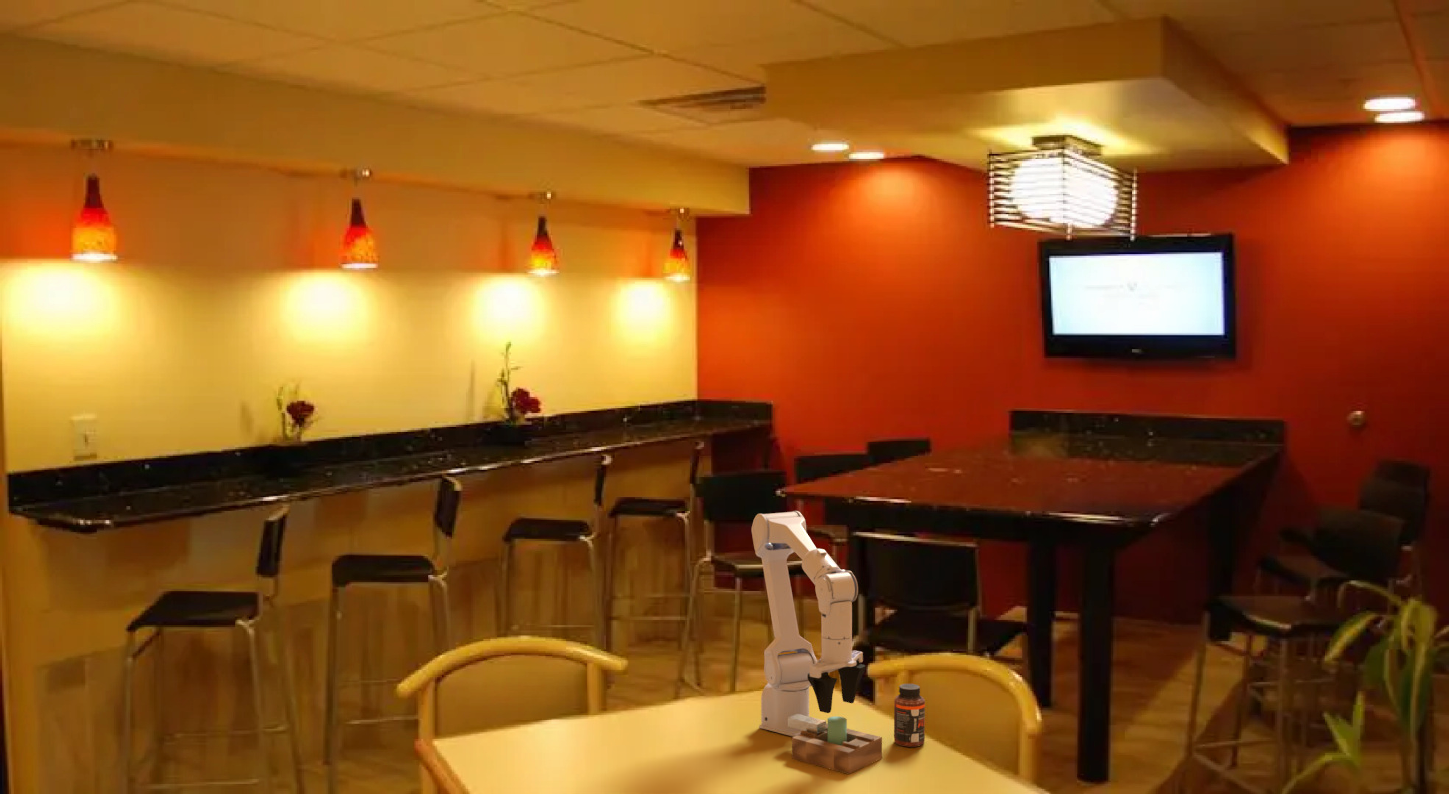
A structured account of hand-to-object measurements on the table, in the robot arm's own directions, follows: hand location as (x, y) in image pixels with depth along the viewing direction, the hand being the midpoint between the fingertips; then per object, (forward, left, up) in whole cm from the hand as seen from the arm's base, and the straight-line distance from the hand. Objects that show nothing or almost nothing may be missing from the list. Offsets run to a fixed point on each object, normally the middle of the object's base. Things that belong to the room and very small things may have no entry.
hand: (836, 707), depth 236 cm
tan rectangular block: (-7, 0, -6) cm, 9 cm away
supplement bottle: (+6, +16, -10) cm, 20 cm away
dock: (0, 0, -10) cm, 10 cm away
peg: (0, 0, -9) cm, 9 cm away
